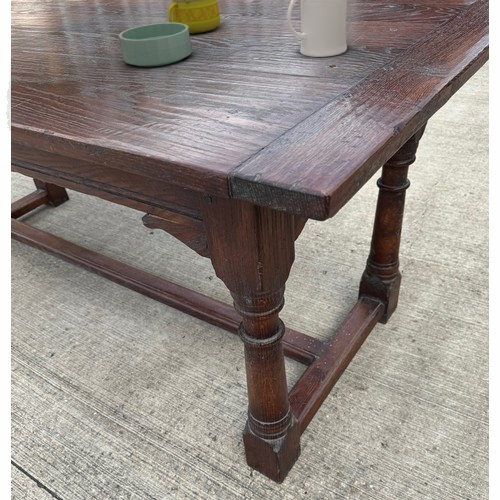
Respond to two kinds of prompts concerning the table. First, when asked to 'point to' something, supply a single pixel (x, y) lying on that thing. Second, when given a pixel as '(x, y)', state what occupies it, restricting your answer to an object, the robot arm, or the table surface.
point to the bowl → (155, 44)
